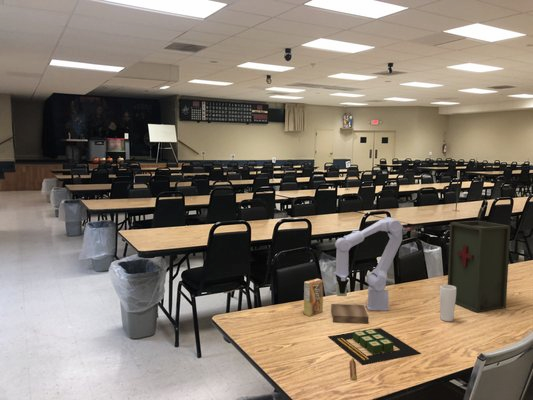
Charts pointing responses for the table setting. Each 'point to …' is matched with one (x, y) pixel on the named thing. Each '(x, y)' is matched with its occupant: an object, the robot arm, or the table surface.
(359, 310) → the walnut base
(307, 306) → the candy box
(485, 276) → the first aid box
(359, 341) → the sushi
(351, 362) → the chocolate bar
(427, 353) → the table surface
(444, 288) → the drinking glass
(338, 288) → the green block
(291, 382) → the table surface
